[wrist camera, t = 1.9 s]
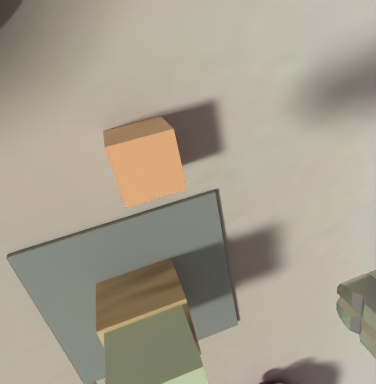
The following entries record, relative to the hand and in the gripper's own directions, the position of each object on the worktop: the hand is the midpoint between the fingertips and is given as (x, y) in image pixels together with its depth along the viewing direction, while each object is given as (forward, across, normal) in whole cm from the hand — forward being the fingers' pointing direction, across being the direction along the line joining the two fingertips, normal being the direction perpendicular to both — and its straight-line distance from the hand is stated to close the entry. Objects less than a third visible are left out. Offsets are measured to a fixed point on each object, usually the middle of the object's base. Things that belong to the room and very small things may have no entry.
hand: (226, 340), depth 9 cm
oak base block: (+19, +4, +16) cm, 25 cm away
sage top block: (+13, +4, +16) cm, 21 cm away
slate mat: (+20, +4, +16) cm, 25 cm away
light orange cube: (+20, 0, 0) cm, 20 cm away
